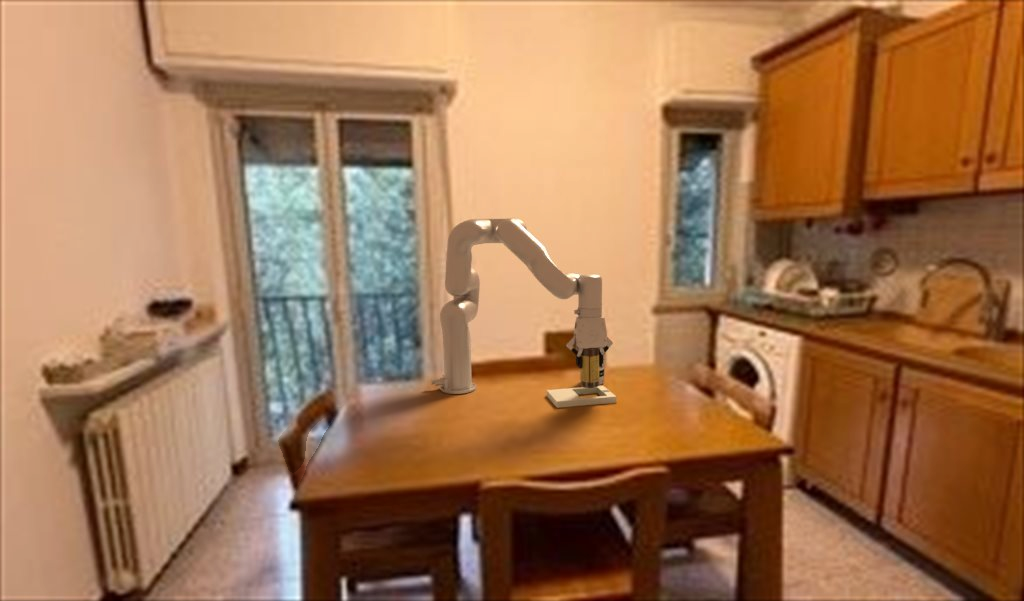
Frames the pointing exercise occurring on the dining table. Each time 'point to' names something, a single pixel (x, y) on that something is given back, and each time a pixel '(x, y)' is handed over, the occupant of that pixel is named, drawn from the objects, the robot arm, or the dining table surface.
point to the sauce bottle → (590, 368)
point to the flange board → (571, 397)
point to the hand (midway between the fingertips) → (589, 366)
